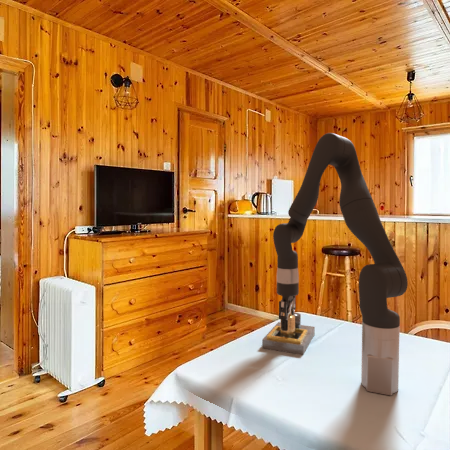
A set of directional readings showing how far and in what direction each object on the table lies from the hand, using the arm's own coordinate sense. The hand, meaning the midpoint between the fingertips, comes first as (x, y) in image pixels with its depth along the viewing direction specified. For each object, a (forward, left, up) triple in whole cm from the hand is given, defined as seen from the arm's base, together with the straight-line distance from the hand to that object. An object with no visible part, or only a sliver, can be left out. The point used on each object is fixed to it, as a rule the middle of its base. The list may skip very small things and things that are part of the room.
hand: (287, 326), depth 128 cm
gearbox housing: (+3, 0, -6) cm, 7 cm away
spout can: (0, 0, -6) cm, 6 cm away
